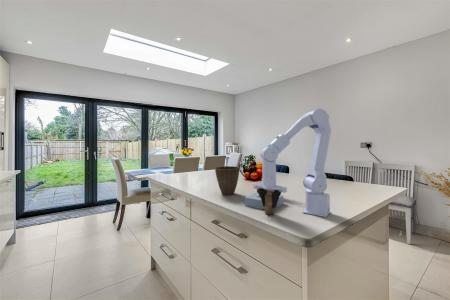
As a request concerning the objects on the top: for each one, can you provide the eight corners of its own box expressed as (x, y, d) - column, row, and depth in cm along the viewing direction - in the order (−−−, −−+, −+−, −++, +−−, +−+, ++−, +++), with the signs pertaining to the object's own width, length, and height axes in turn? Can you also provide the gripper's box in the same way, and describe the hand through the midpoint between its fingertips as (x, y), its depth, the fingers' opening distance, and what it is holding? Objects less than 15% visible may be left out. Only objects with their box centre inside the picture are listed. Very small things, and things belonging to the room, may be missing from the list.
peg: (275, 212, 88) (275, 194, 88) (271, 215, 85) (271, 196, 85) (267, 210, 90) (267, 192, 90) (263, 213, 87) (263, 194, 87)
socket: (283, 203, 103) (283, 195, 102) (271, 210, 91) (271, 202, 91) (258, 199, 111) (258, 191, 111) (244, 205, 100) (244, 197, 100)
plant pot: (214, 197, 117) (213, 169, 116) (216, 191, 132) (215, 166, 131) (240, 197, 116) (240, 169, 116) (239, 191, 131) (239, 166, 131)
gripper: (249, 175, 88) (250, 206, 89) (281, 178, 80) (282, 212, 80) (257, 173, 94) (257, 202, 94) (288, 175, 85) (288, 208, 86)
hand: (269, 206), depth 88 cm, fingers closed on peg, 4 cm apart
